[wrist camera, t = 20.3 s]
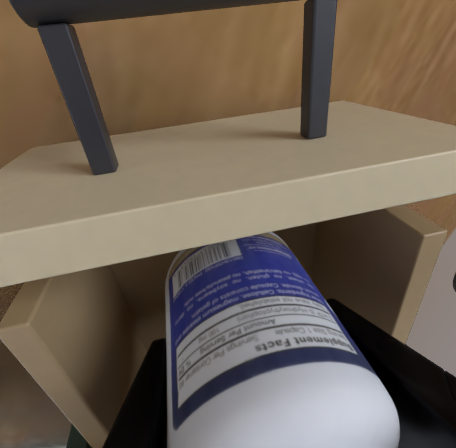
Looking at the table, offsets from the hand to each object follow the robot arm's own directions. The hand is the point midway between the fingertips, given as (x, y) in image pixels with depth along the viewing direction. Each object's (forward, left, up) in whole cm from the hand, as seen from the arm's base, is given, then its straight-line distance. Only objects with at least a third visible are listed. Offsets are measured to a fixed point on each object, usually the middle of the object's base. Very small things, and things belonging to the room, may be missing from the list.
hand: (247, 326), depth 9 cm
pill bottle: (0, 0, -3) cm, 3 cm away
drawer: (0, -1, -6) cm, 6 cm away
